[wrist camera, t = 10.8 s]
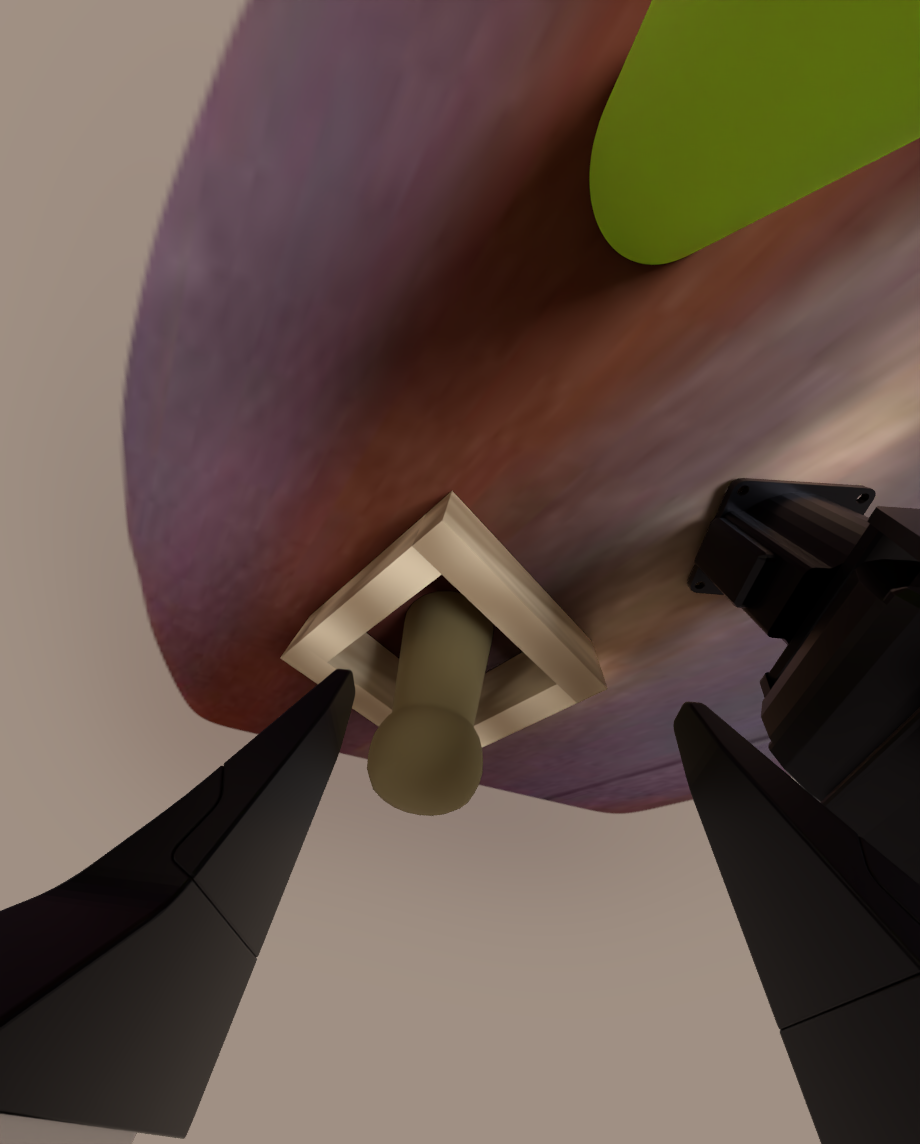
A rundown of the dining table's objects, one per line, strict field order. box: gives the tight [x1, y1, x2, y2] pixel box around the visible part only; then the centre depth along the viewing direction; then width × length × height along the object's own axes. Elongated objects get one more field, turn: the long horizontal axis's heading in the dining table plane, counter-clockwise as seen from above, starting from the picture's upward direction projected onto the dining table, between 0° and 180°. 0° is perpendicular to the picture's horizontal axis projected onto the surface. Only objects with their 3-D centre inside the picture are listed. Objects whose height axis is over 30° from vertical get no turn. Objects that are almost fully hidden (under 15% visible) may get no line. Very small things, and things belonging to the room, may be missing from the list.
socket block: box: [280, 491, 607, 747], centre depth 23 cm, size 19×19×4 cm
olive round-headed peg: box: [367, 591, 493, 816], centre depth 20 cm, size 6×6×11 cm
